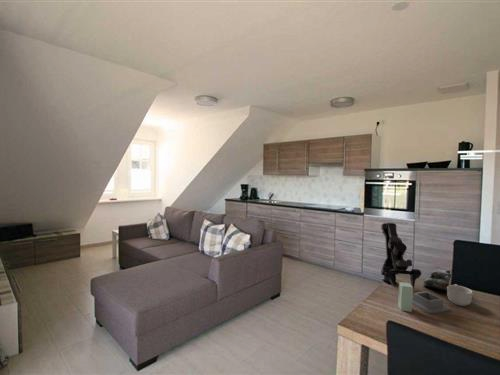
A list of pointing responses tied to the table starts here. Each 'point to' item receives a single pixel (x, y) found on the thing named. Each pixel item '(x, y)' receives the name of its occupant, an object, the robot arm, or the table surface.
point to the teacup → (459, 295)
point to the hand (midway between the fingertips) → (403, 287)
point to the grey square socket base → (429, 302)
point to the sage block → (405, 296)
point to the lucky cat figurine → (438, 280)
